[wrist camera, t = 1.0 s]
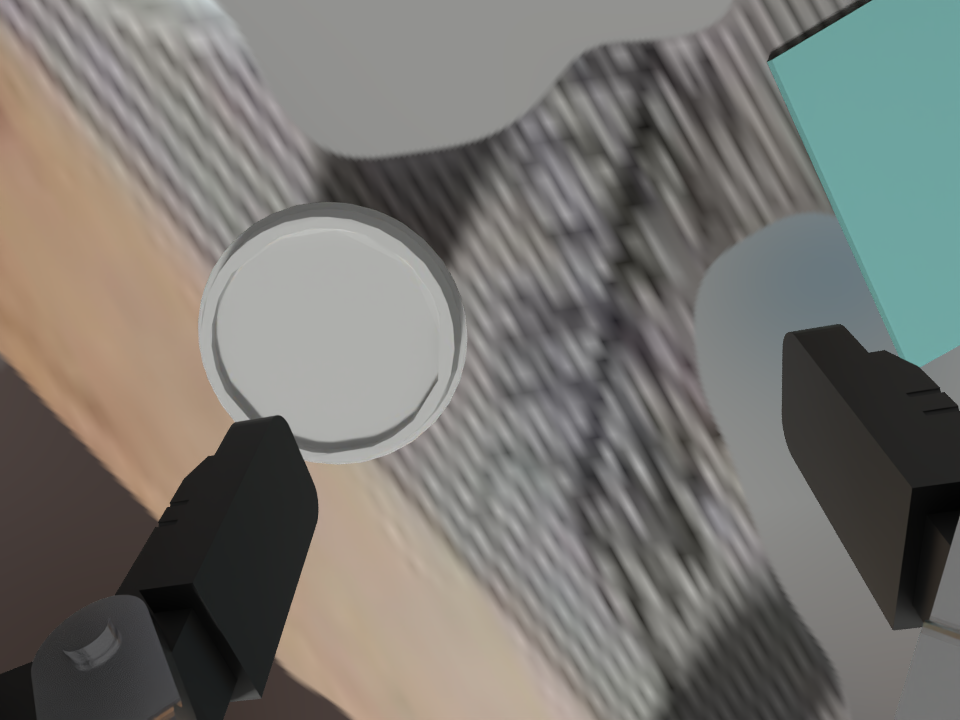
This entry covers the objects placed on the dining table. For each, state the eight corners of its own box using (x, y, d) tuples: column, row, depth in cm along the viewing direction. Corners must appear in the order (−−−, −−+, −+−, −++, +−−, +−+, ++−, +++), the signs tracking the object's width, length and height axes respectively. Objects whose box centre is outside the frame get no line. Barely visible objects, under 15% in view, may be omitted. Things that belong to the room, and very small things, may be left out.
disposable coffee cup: (398, 423, 37) (379, 522, 25) (236, 330, 35) (135, 390, 24) (494, 270, 35) (521, 299, 24) (330, 166, 34) (271, 142, 22)
